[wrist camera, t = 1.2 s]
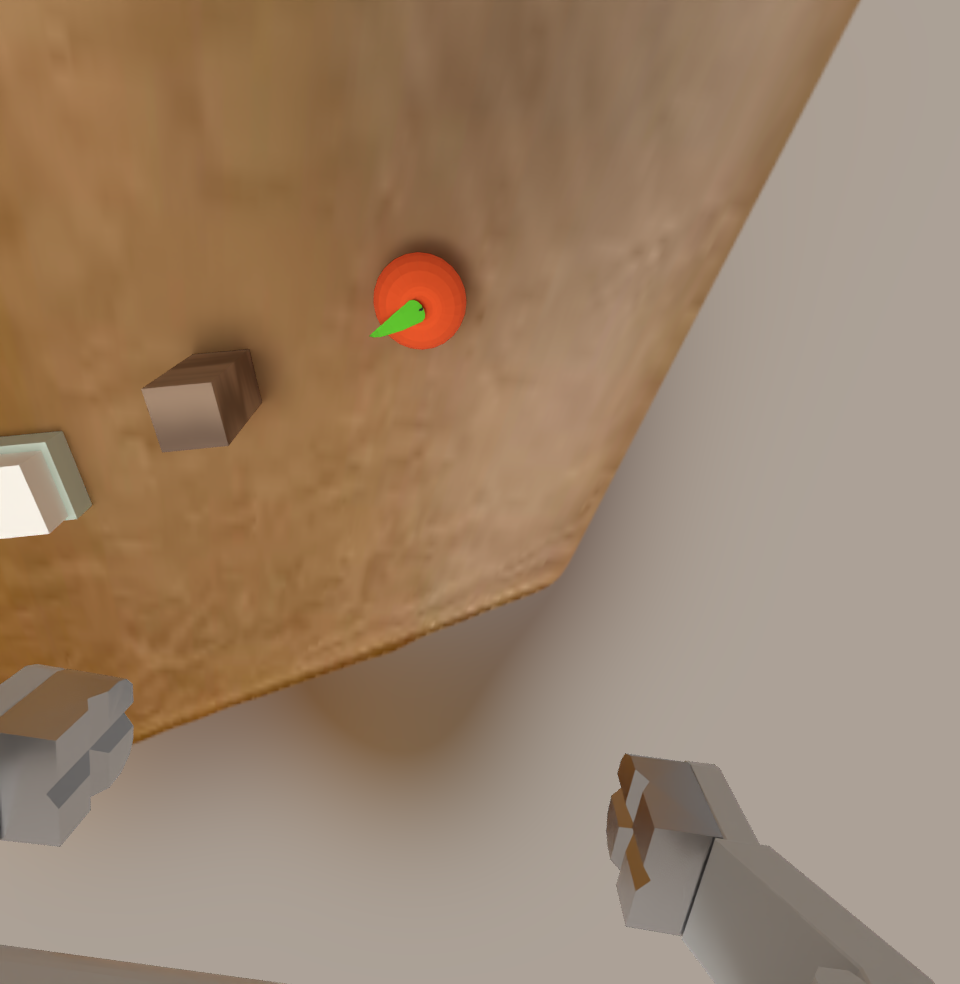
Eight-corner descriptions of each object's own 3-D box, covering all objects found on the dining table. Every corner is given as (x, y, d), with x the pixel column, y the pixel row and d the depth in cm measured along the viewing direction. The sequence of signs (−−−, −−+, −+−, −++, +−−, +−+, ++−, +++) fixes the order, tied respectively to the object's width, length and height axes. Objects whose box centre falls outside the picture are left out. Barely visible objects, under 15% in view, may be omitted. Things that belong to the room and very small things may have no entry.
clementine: (397, 361, 50) (394, 385, 44) (347, 287, 47) (336, 300, 41) (479, 310, 49) (488, 326, 42) (433, 230, 46) (435, 235, 39)
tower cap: (-38, 457, 47) (-65, 473, 45) (41, 450, 48) (19, 465, 45) (-6, 523, 50) (-30, 541, 47) (68, 516, 50) (49, 533, 48)
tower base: (-22, 437, 50) (-47, 450, 47) (64, 429, 50) (45, 442, 47) (13, 511, 53) (-9, 528, 50) (94, 503, 53) (77, 519, 51)
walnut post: (192, 354, 48) (141, 389, 39) (249, 349, 48) (211, 382, 39) (207, 407, 50) (162, 452, 41) (262, 402, 50) (228, 445, 41)
